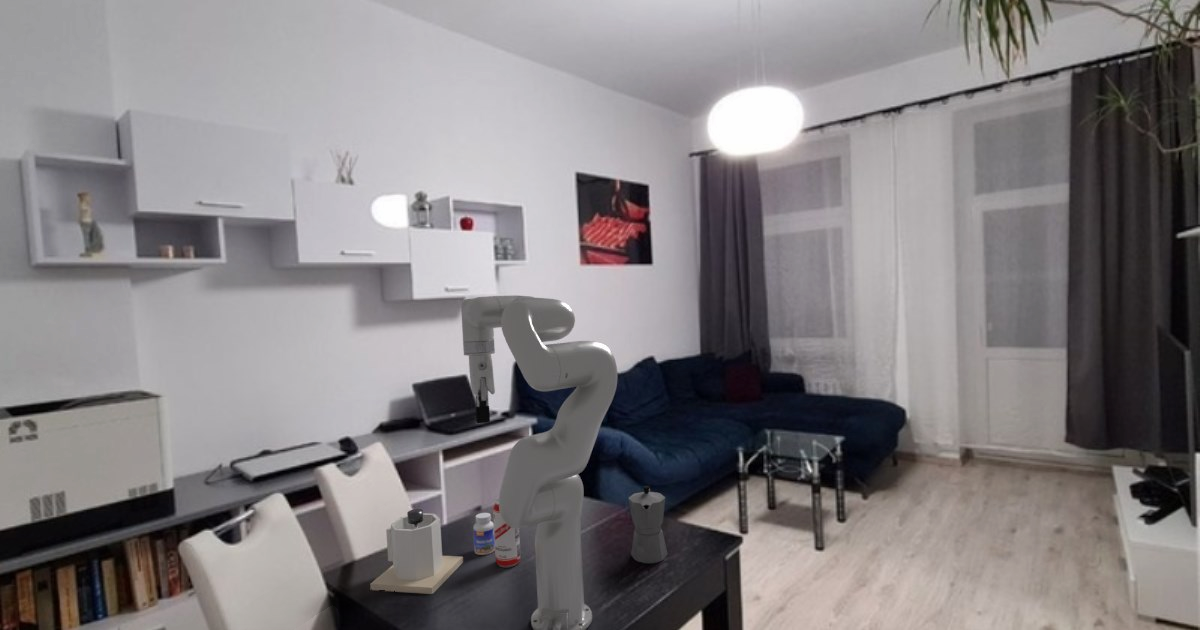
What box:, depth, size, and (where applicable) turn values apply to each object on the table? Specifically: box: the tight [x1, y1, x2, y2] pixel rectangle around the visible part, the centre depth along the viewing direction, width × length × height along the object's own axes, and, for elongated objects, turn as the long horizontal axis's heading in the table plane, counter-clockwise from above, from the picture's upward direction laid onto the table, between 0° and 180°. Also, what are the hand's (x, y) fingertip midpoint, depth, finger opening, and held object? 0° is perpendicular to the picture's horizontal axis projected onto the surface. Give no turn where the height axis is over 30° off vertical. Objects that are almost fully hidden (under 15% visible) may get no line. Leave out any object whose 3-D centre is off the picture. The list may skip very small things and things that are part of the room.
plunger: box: [406, 508, 424, 529], centre depth 143 cm, size 8×8×14 cm
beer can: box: [492, 498, 522, 568], centre depth 148 cm, size 6×6×16 cm
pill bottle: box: [473, 512, 495, 556], centre depth 156 cm, size 5×5×10 cm
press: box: [369, 512, 464, 595], centre depth 143 cm, size 16×16×14 cm
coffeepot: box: [627, 485, 668, 564], centre depth 149 cm, size 15×9×18 cm, turn 174°
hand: (483, 421), depth 144 cm, fingers closed
